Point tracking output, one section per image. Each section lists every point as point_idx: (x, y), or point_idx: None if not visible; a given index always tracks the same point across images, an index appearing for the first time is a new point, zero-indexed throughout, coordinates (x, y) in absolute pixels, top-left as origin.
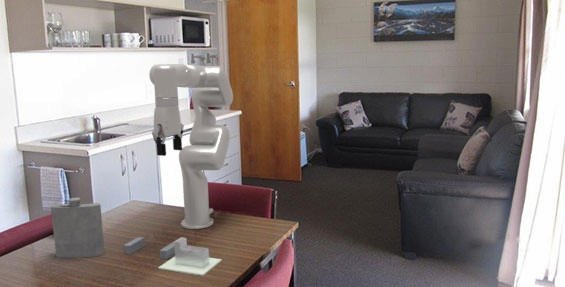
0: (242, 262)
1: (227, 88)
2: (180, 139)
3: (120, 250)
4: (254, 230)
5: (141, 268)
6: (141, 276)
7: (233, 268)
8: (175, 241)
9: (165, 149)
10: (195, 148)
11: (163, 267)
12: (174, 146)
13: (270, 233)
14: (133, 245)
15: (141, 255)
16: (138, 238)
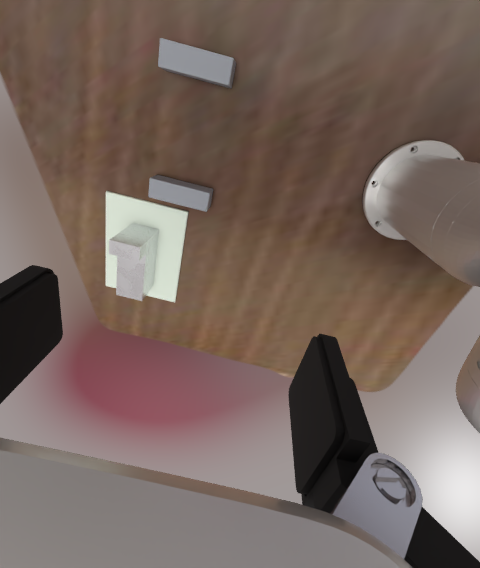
0: (176, 332)
1: None
2: (303, 498)
3: (188, 14)
4: (341, 333)
5: (98, 148)
6: (64, 166)
7: (149, 323)
8: (110, 242)
9: (15, 377)
10: None
11: (109, 202)
12: (313, 368)
13: None
14: (175, 71)
15: (167, 111)
16: (221, 65)
